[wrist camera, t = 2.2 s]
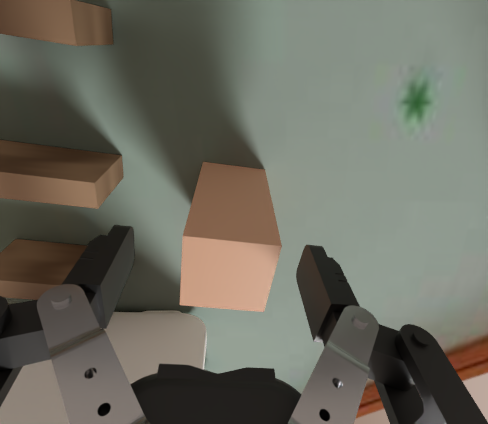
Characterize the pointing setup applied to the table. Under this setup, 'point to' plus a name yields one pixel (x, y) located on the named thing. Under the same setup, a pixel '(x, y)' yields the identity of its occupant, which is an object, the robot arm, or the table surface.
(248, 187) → the plug block
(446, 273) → the table surface
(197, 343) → the cable organizer
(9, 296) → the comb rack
